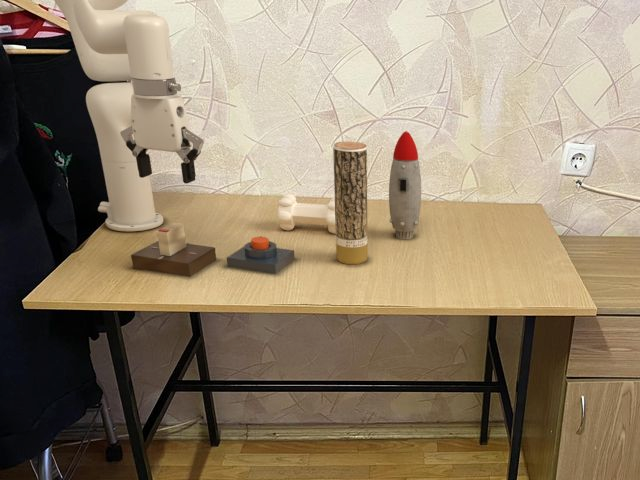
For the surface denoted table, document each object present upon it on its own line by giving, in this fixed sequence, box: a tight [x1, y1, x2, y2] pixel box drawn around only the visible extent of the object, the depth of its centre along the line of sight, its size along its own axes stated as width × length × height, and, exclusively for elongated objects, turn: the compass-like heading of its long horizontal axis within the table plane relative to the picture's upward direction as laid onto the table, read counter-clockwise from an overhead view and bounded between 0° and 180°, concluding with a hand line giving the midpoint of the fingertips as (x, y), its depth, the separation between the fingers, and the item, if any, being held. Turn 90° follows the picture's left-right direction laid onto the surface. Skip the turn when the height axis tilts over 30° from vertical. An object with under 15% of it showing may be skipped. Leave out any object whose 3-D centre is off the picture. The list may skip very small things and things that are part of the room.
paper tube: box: [332, 141, 368, 266], centre depth 152 cm, size 7×7×25 cm
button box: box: [226, 240, 296, 275], centre depth 152 cm, size 11×9×4 cm
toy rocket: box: [388, 130, 422, 240], centre depth 168 cm, size 8×8×25 cm
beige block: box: [156, 222, 187, 256], centre depth 147 cm, size 6×2×5 cm, turn 167°
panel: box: [130, 240, 217, 278], centre depth 149 cm, size 13×10×3 cm
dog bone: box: [276, 193, 336, 235], centre depth 172 cm, size 15×9×8 cm, turn 87°
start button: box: [250, 236, 270, 249], centre depth 151 cm, size 4×4×2 cm
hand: (167, 178), depth 142 cm, fingers open, 9 cm apart
